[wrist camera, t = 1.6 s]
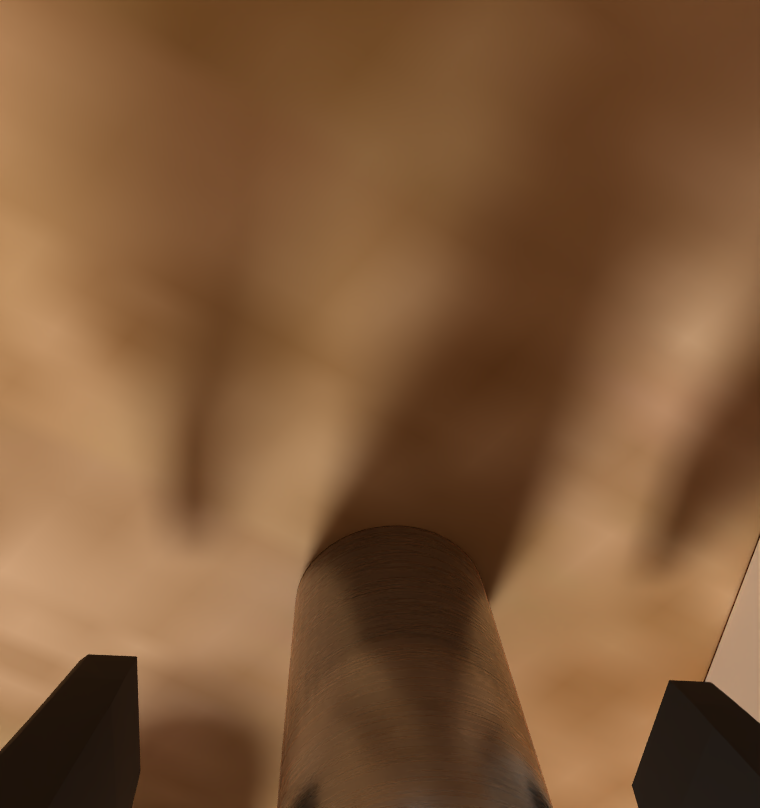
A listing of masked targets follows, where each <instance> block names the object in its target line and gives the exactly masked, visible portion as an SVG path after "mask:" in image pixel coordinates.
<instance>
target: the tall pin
mask: <svg viewBox="0 0 760 808" xmlns="http://www.w3.org/2000/svg"><path fill="white" fill-rule="evenodd" d="M277 808H553V807H552V803H551V800H550V797H549V794H548V791H547V787H546V784H545V781H544V778H543V775H542V771H541V768H540V765H539V762H538V759H537V755H536V752H535V749H534V746H533V743H532V739H531V736H530V733H529V730H528V727H527V723H526V720H525V717H524V714H523V711H522V707H521V704H520V701H519V698H518V695H517V691H516V688H515V685H514V682H513V679H512V675H511V672H510V669H509V666H508V663H507V659H506V656H505V653H504V650H503V647H502V643H501V640H500V637H499V634H498V631H497V627H496V624H495V621H494V618H493V615H492V611H491V608H490V605H489V602H488V599H487V595H486V592H485V589H484V586H483V583H482V580H481V577H480V574H479V572H478V570H477V568H476V567H475V565H474V563H473V562H472V561H471V559H470V558H469V557H468V556H467V554H465V553H464V552H463V551H462V550H461V549H460V548H459V547H458V546H456V545H455V544H454V543H452V542H451V541H449V540H447V539H445V538H444V537H442V536H440V535H437V534H435V533H432V532H429V531H426V530H422V529H418V528H413V527H405V526H386V527H376V528H372V529H367V530H363V531H360V532H357V533H354V534H351V535H349V536H347V537H345V538H343V539H341V540H339V541H337V542H336V543H334V544H332V545H331V546H329V547H328V548H327V549H326V550H324V551H323V552H322V553H321V554H320V555H319V556H318V557H317V558H316V559H315V560H314V561H313V562H312V563H311V565H310V566H309V568H308V569H307V570H306V572H305V574H304V576H303V578H302V580H301V582H300V585H299V588H298V591H297V596H296V602H295V613H294V624H293V636H292V647H291V658H290V669H289V680H288V691H287V702H286V713H285V724H284V735H283V746H282V757H281V768H280V780H279V791H278V802H277Z"/></svg>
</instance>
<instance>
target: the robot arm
mask: <svg viewBox="0 0 760 808" xmlns="http://www.w3.org/2000/svg"><path fill="white" fill-rule="evenodd" d="M139 774H140V744H139V711H138V678H137V657H134V656H112V655H90V654H88V655H87V656H86V657H84V658H83V659H82V660H80V661H79V662H78V663H77V665H76V666H75V667H74V668H73V669H72V670H71V672H70V673H69V674H68V675H67V676H66V677H65V679H64V680H63V681H62V682H61V683H60V684H59V686H58V687H57V688H56V689H55V690H54V691H53V692H52V694H51V695H50V696H49V697H48V698H47V699H46V701H45V702H44V703H43V704H42V705H41V706H40V707H39V708H38V710H37V711H36V712H35V713H34V714H33V715H32V716H31V718H30V719H29V720H28V721H27V722H26V723H25V724H24V725H23V726H22V727H21V729H20V730H19V731H18V732H17V733H16V734H15V735H14V736H13V737H12V738H11V740H10V741H9V742H8V743H7V744H6V745H5V746H4V747H3V748H2V749H1V751H0V808H132V804H133V800H134V795H135V791H136V787H137V783H138V779H139ZM632 787H633V790H634V794H635V797H636V801H637V804H638V808H760V723H759V722H758V721H757V720H755V719H754V718H753V717H752V716H751V715H750V714H749V713H747V712H746V711H745V710H744V709H743V708H742V707H740V706H739V705H738V704H737V703H736V702H735V701H733V700H732V699H731V698H730V697H729V696H727V695H726V694H725V693H724V692H723V691H721V690H720V689H719V688H718V687H716V686H715V685H714V684H713V683H711V682H696V681H674V680H669V683H668V685H667V688H666V691H665V694H664V697H663V699H662V702H661V705H660V708H659V711H658V714H657V716H656V719H655V722H654V725H653V728H652V730H651V733H650V736H649V739H648V742H647V744H646V747H645V750H644V753H643V756H642V758H641V761H640V764H639V767H638V770H637V773H636V775H635V778H634V781H633V784H632Z"/></svg>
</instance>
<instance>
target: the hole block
mask: <svg viewBox="0 0 760 808" xmlns="http://www.w3.org/2000/svg"><path fill="white" fill-rule="evenodd" d="M705 682H711V683H713V684H714V685H715V686H716V687H718V688H719V689H720V690H721V691H723V692H724V693H725V694H726V695H727V696H729V697H730V698H731V699H732V700H733V701H735V702H736V703H737V704H738V705H739V706H740V707H742V708H743V709H744V710H745V711H746V712H747V713H749V714H750V715H751V716H752V717H753V718H754V719H755V720H757V721H758V722H759V723H760V539H759V541H758V544H757V547H756V549H755V552H754V555H753V557H752V560H751V562H750V565H749V568H748V570H747V573H746V575H745V578H744V581H743V583H742V586H741V589H740V591H739V594H738V596H737V599H736V602H735V604H734V607H733V609H732V612H731V615H730V617H729V620H728V623H727V625H726V628H725V630H724V633H723V636H722V638H721V641H720V643H719V646H718V649H717V651H716V654H715V657H714V659H713V662H712V664H711V667H710V670H709V672H708V675H707V678H706V680H705Z"/></svg>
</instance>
